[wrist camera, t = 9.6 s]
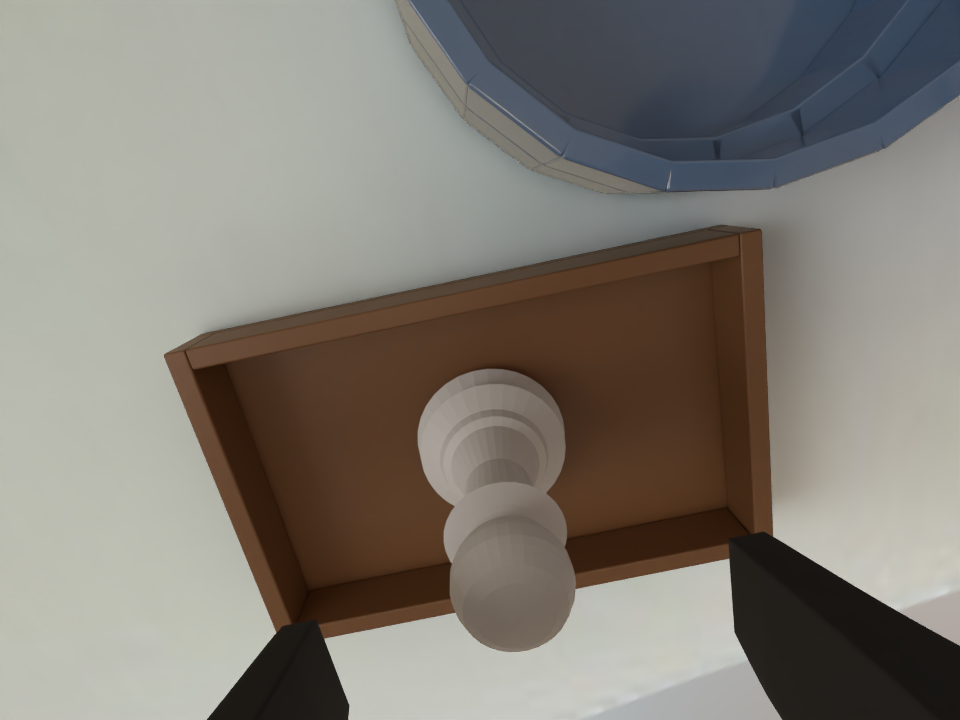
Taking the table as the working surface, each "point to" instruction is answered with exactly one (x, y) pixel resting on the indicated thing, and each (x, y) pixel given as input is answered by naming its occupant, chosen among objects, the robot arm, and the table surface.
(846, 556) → the table surface
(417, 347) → the tray
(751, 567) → the robot arm
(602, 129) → the bowl
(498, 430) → the chess piece
